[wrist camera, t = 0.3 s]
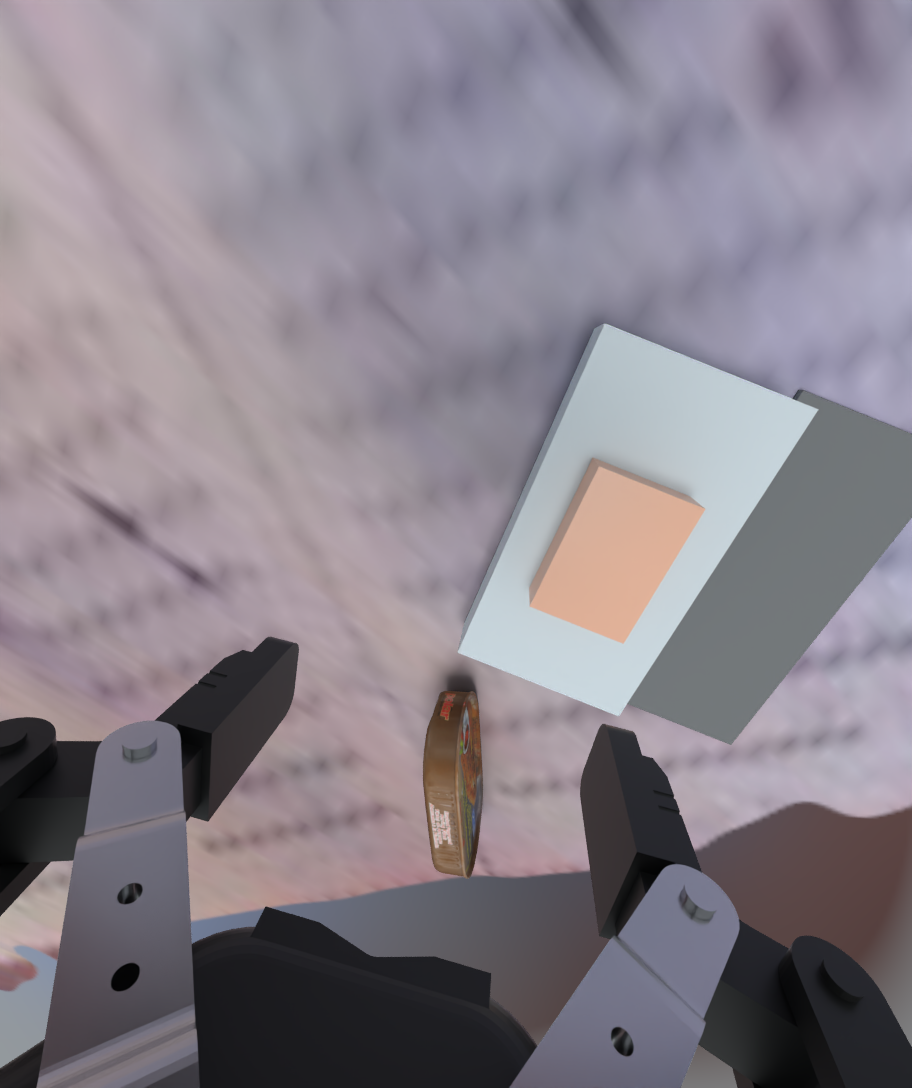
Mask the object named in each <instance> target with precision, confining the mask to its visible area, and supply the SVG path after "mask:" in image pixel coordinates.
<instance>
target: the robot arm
mask: <svg viewBox="0 0 912 1088" xmlns="http://www.w3.org/2000/svg"><path fill="white" fill-rule="evenodd" d="M298 653H299V647H298V644H297V643H293V642H289V641H285V640H281V639H278V638H274V637H267V638H266V639H265V640H264V641H263V642H262V643H261V644H260V645H259V646H258V647H257V648H256V649H255V650H254V651H253V652H249V651H245V650H242V651H240V652H238V653H235V654H233V655H231V656H229V657H226V658H224V659H223V660H222V661H221V662H219V663H218V664H217V665H216V666H215V667H214V668H213V669H212V670H210V673H209V674H208V673H207V674H206V675H205V676H204V677H203V678H202V679H200V680H199V682H198V684H195V685H194V686H193V687H192V688H190V689H189V690H188V691H187V692H186V693H185V694H184V695H183V696H181V697H180V698H179V699H178V700H177V701H176V702H175V703H174V704H173V705H171V706H170V707H169V708H168V709H167V710H166V711H165V712H164V713H163V714H161V715H160V716H159V717H158V718H157V719H156V720H155V721H142V722H137V723H133V724H129V725H126V726H124V727H122V728H119V729H118V730H116V731H114V732H113V733H111V734H110V735H108V736H107V737H106V738H105V739H104V740H103V741H56V731H55V728H54V726H53V725H52V724H51V723H50V722H48V721H46V720H44V719H40V718H33V717H24V718H15V719H9V720H5V721H1V722H0V916H1V915H2V914H3V913H4V912H5V911H6V910H7V908H8V907H9V906H10V905H11V904H12V903H13V902H14V901H15V900H16V899H17V898H18V897H19V895H20V894H21V893H22V892H23V891H24V890H25V889H26V888H27V887H28V886H29V885H30V884H31V883H32V881H33V880H34V879H35V878H36V877H37V876H38V875H39V874H40V873H41V872H42V871H43V870H44V868H45V867H46V866H47V865H48V864H49V863H50V862H51V861H71V860H74V861H73V867H72V874H71V880H70V886H69V892H68V898H67V905H66V911H65V917H64V923H63V929H62V936H61V942H60V948H59V954H58V960H57V967H56V973H55V979H54V985H53V992H52V998H51V1004H50V1010H49V1016H48V1022H47V1029H46V1035H45V1039H44V1040H43V1041H41V1042H40V1043H38V1044H37V1045H35V1046H34V1047H32V1048H31V1049H29V1050H28V1051H26V1052H25V1053H23V1054H22V1055H20V1056H19V1057H17V1058H15V1059H14V1060H12V1061H11V1062H9V1063H8V1064H6V1065H5V1066H3V1067H2V1068H0V1088H681V1086H682V1083H683V1080H684V1078H685V1076H686V1073H687V1071H688V1068H689V1066H690V1063H691V1061H692V1058H693V1056H694V1053H695V1051H696V1048H697V1046H698V1045H700V1046H701V1047H703V1048H704V1049H706V1050H707V1051H709V1052H710V1053H711V1054H713V1055H715V1056H716V1057H717V1058H719V1059H720V1060H722V1061H723V1062H725V1063H726V1064H728V1065H729V1066H731V1067H732V1068H733V1072H734V1075H735V1080H736V1083H737V1087H738V1088H912V1047H911V1045H910V1043H909V1042H908V1040H907V1038H906V1036H905V1034H904V1032H903V1030H902V1029H901V1027H900V1025H899V1023H898V1021H897V1019H896V1018H895V1016H894V1014H893V1012H892V1010H891V1008H890V1007H889V1005H888V1003H887V1001H886V999H885V997H884V996H883V994H882V993H881V991H880V990H879V988H878V986H877V985H876V984H875V982H874V981H873V980H872V978H871V977H870V976H869V975H868V974H867V973H866V971H865V970H864V969H863V968H862V967H861V966H860V965H859V964H858V963H857V962H855V961H854V960H853V959H852V958H851V957H850V956H848V955H847V954H846V953H845V952H843V951H842V950H840V949H839V948H837V947H836V946H834V945H832V944H831V943H829V942H827V941H825V940H822V939H820V938H817V937H813V936H800V937H798V938H797V939H795V941H794V942H793V943H792V945H791V946H790V948H789V949H788V948H787V947H785V946H783V945H781V944H780V943H778V942H776V941H774V940H772V939H771V938H769V937H767V936H766V935H764V934H762V933H760V932H759V931H757V930H755V929H753V928H752V927H750V926H748V925H747V924H745V923H743V922H742V921H741V920H739V919H738V915H737V913H736V910H735V908H734V906H733V904H732V902H731V901H730V899H729V898H728V896H727V895H726V894H725V893H724V891H723V890H722V889H721V888H720V887H719V886H718V885H717V884H716V883H715V882H714V881H712V880H711V879H710V878H709V877H707V876H706V875H705V874H703V873H702V871H701V868H700V865H699V863H698V860H697V857H696V854H695V852H694V849H693V846H692V843H691V841H690V838H689V835H688V833H687V830H686V827H685V824H684V822H683V819H682V816H681V815H679V812H680V811H679V808H678V805H677V802H676V800H675V799H674V794H673V792H672V789H671V786H670V783H669V781H668V778H667V776H666V775H665V773H664V772H663V771H662V770H661V768H660V767H659V766H658V764H657V763H656V762H655V761H654V759H653V758H650V757H646V756H642V754H641V750H640V747H639V744H638V741H637V738H636V735H635V733H634V732H633V731H629V730H625V729H621V728H618V727H614V726H610V725H606V724H602V725H601V726H600V728H599V730H598V733H597V735H596V738H595V741H594V743H593V746H592V749H591V752H590V754H589V757H588V760H587V762H586V765H585V768H584V771H583V774H582V779H581V787H580V797H581V805H582V813H583V820H584V827H585V835H586V842H587V850H588V857H589V864H590V872H591V879H592V887H593V894H594V901H595V908H596V916H597V923H598V931H599V936H602V937H605V938H608V939H611V940H610V941H609V942H608V944H607V945H606V947H605V948H604V950H603V951H602V953H601V954H600V956H599V957H598V959H597V960H596V962H595V963H594V964H593V966H592V967H591V969H590V970H589V972H588V973H587V975H586V976H585V978H584V979H583V980H582V982H581V983H580V985H579V986H578V988H577V989H576V991H575V992H574V994H573V995H572V997H571V998H570V999H569V1001H568V1003H567V1004H566V1005H565V1007H564V1008H563V1010H562V1011H561V1013H560V1014H559V1016H558V1017H557V1019H556V1020H555V1022H554V1023H553V1024H552V1026H551V1027H550V1029H549V1030H548V1032H547V1033H546V1035H545V1036H544V1038H543V1039H542V1040H541V1042H540V1044H539V1045H538V1046H537V1044H536V1043H535V1041H534V1040H533V1039H532V1037H531V1036H530V1035H529V1033H528V1032H527V1031H526V1030H525V1028H524V1027H523V1026H522V1025H521V1024H520V1023H519V1021H518V1020H517V1019H516V1018H515V1017H514V1016H513V1015H512V1014H511V1013H510V1012H509V1011H507V1010H506V1009H505V1008H504V1007H503V1006H502V1005H500V1004H499V1003H498V1002H496V1001H495V1000H493V999H492V998H490V983H491V973H488V972H484V971H481V970H478V969H474V968H471V967H467V966H464V965H461V964H457V963H454V962H451V961H447V960H444V959H440V958H437V957H373V956H370V955H368V954H366V953H365V952H363V951H362V950H360V949H359V948H357V947H356V946H354V945H353V944H351V943H350V942H348V941H347V940H345V939H344V938H342V937H341V936H339V935H338V934H336V933H335V932H333V931H332V930H330V929H329V928H327V927H325V926H324V925H323V924H321V923H319V922H316V921H313V920H309V919H306V918H303V917H299V916H296V915H293V914H289V913H286V912H282V911H279V910H276V909H272V908H269V907H265V909H264V911H263V913H262V915H261V917H260V919H259V921H258V923H257V925H256V927H244V928H237V929H231V930H227V931H223V932H220V933H216V934H213V935H211V936H208V937H206V938H203V939H201V940H199V941H197V942H195V943H193V944H192V942H191V919H190V898H189V876H188V854H187V833H186V822H187V820H188V819H189V818H190V816H191V817H194V818H197V819H201V820H204V821H209V820H210V818H211V817H212V816H213V814H214V813H215V811H216V810H217V809H218V807H219V806H220V805H221V803H222V802H223V800H224V799H225V798H226V796H227V795H228V794H229V792H230V791H231V790H232V788H233V787H234V785H235V784H236V783H237V781H238V780H239V779H240V777H241V776H242V775H243V773H244V772H245V770H246V769H247V768H248V766H249V765H250V764H251V762H252V761H253V760H254V758H255V757H256V755H257V754H258V753H259V751H260V750H261V749H262V747H263V746H264V744H265V743H266V742H267V740H268V739H269V738H270V736H271V735H272V734H273V732H274V731H275V729H276V728H277V727H278V725H279V724H280V723H281V721H282V720H283V719H284V717H285V716H286V714H287V712H288V710H289V708H290V705H291V703H292V699H293V695H294V689H295V680H296V671H297V662H298Z"/></svg>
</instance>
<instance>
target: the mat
mask: <svg viewBox="0 0 912 1088" xmlns="http://www.w3.org/2000/svg"><path fill="white" fill-rule="evenodd" d="M793 399H794V400H796V401H799V402H801V403H804V404H806V405H809V406H811V407H814V408H816V409H819V410H818V411H817V413H816V414H815V416H814V417H813V419H812V420H811V422H810V423H809V425H808V426H807V428H806V430H805V431H804V433H803V434H802V436H801V437H800V439H799V440H798V442H797V443H796V445H795V446H794V448H793V450H792V451H791V453H790V454H789V456H788V457H787V459H786V460H785V462H784V463H783V465H782V466H781V468H780V469H779V471H778V473H777V474H776V476H775V477H774V479H773V480H772V482H771V483H770V485H769V486H768V488H767V489H766V491H765V493H764V494H763V496H762V497H761V499H760V500H759V502H758V503H757V505H756V506H755V508H754V509H753V511H752V513H751V514H750V516H749V517H748V519H747V520H746V522H745V523H744V525H743V526H742V528H741V529H740V531H739V532H738V534H737V536H736V537H735V539H734V540H733V542H732V543H731V545H730V546H729V548H728V549H727V551H726V552H725V554H724V556H723V557H722V559H721V560H720V562H719V563H718V565H717V566H716V568H715V569H714V571H713V572H712V574H711V576H710V577H709V579H708V580H707V582H706V583H705V585H704V586H703V588H702V589H701V591H700V592H699V594H698V595H697V597H696V599H695V600H694V602H693V603H692V605H691V606H690V608H689V609H688V611H687V612H686V614H685V615H684V617H683V619H682V620H681V622H680V623H679V625H678V626H677V628H676V629H675V631H674V632H673V634H672V635H671V637H670V639H669V640H668V642H667V643H666V645H665V646H664V648H663V649H662V651H661V652H660V654H659V655H658V657H657V658H656V660H655V662H654V663H653V665H652V666H651V668H650V669H649V671H648V672H647V674H646V675H645V677H644V678H643V680H642V682H641V683H640V685H639V686H638V688H637V689H636V691H635V692H634V694H633V695H632V697H631V698H630V700H629V702H628V703H627V704H629V705H632V706H634V707H637V708H639V709H642V710H644V711H647V712H649V713H652V714H654V715H657V716H660V717H662V718H665V719H667V720H670V721H672V722H675V723H677V724H680V725H682V726H685V727H687V728H690V729H692V730H695V731H697V732H700V733H702V734H705V735H707V736H710V737H713V738H715V739H718V740H720V741H723V742H725V743H728V744H730V745H731V744H732V743H733V742H734V740H735V739H736V738H737V737H738V735H739V734H740V733H741V732H742V730H743V729H744V728H745V727H746V725H747V724H748V723H749V722H750V720H751V719H752V718H753V717H754V715H755V714H756V713H757V712H758V710H759V709H760V708H761V707H762V705H763V704H764V703H765V701H766V700H767V699H768V698H769V696H770V695H771V694H772V693H773V691H774V690H775V689H776V688H777V686H778V685H779V684H780V683H781V681H782V680H783V679H784V678H785V676H786V675H787V674H788V673H789V671H790V670H791V669H792V668H793V666H794V665H795V664H796V662H797V661H798V660H799V659H800V657H801V656H802V655H803V654H804V652H805V651H806V650H807V649H808V647H809V646H810V645H811V644H812V642H813V641H814V640H815V639H816V637H817V636H818V635H819V634H820V632H821V631H822V630H823V629H824V627H825V626H826V625H827V624H828V622H829V621H830V620H831V618H832V617H833V616H834V615H835V613H836V612H837V611H838V610H839V608H840V607H841V606H842V605H843V603H844V602H845V601H846V600H847V598H848V597H849V596H850V595H851V593H852V592H853V591H854V590H855V588H856V587H857V586H858V585H859V583H860V582H861V581H862V580H863V578H864V577H865V576H866V574H867V573H868V572H869V571H870V569H871V568H872V567H873V566H874V564H875V563H876V562H877V561H878V559H879V558H880V557H881V556H882V554H883V553H884V552H885V551H886V549H887V548H888V547H889V546H890V544H891V543H892V542H893V541H894V539H895V538H896V537H897V536H898V534H899V533H900V532H901V530H902V529H903V528H904V527H905V525H906V524H907V523H908V522H909V520H910V519H911V518H912V434H910V433H908V432H905V431H903V430H900V429H898V428H895V427H893V426H890V425H888V424H885V423H883V422H880V421H878V420H875V419H873V418H871V417H868V416H866V415H863V414H861V413H858V412H856V411H853V410H851V409H848V408H846V407H843V406H841V405H838V404H836V403H833V402H831V401H828V400H826V399H823V398H821V397H818V396H816V395H814V394H811V393H809V392H806V391H804V390H798V392H797V393H796V395H795V397H794V398H793Z"/></svg>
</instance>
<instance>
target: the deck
mask: <svg viewBox="0 0 912 1088" xmlns="http://www.w3.org/2000/svg"><path fill="white" fill-rule="evenodd" d="M818 410H819V409H816V408H814V407H811V406H809V405H806V404H804V403H801V402H799V401H796V400H794V399H791V398H789V397H786V396H784V395H781V394H779V393H776V392H774V391H772V390H769V389H767V388H764V387H762V386H759V385H757V384H754V383H752V382H749V381H747V380H744V379H742V378H739V377H737V376H734V375H732V374H729V373H727V372H724V371H722V370H719V369H717V368H714V367H712V366H710V365H707V364H705V363H702V362H700V361H697V360H695V359H692V358H690V357H687V356H685V355H682V354H680V353H677V352H675V351H672V350H670V349H667V348H665V347H662V346H660V345H657V344H655V343H653V342H650V341H648V340H645V339H643V338H640V337H638V336H635V335H633V334H630V333H628V332H625V331H623V330H620V329H618V328H615V327H613V326H610V325H608V324H605V323H604V324H602V325H600V326H598V327H596V328H594V330H593V333H592V335H591V337H590V339H589V342H588V344H587V346H586V348H585V351H584V353H583V355H582V358H581V360H580V362H579V364H578V367H577V369H576V371H575V373H574V376H573V378H572V380H571V382H570V385H569V387H568V389H567V392H566V394H565V396H564V398H563V401H562V403H561V405H560V407H559V410H558V412H557V414H556V416H555V419H554V421H553V423H552V426H551V428H550V430H549V432H548V435H547V437H546V439H545V441H544V444H543V446H542V448H541V450H540V453H539V455H538V457H537V460H536V462H535V464H534V466H533V469H532V471H531V473H530V475H529V478H528V480H527V482H526V484H525V487H524V489H523V491H522V494H521V496H520V498H519V500H518V503H517V505H516V507H515V509H514V512H513V514H512V516H511V518H510V521H509V523H508V525H507V528H506V530H505V532H504V534H503V537H502V539H501V541H500V543H499V546H498V548H497V550H496V552H495V555H494V557H493V559H492V562H491V564H490V566H489V568H488V571H487V573H486V575H485V577H484V580H483V582H482V584H481V586H480V589H479V591H478V593H477V596H476V598H475V600H474V602H473V605H472V607H471V609H470V611H469V614H468V616H467V618H466V620H465V623H464V627H463V631H462V635H461V640H460V644H459V648H458V653H460V654H462V655H465V656H468V657H470V658H473V659H475V660H478V661H480V662H483V663H485V664H488V665H490V666H493V667H495V668H498V669H500V670H503V671H505V672H508V673H510V674H513V675H516V676H518V677H521V678H523V679H526V680H528V681H531V682H533V683H536V684H538V685H541V686H543V687H546V688H548V689H551V690H553V691H556V692H558V693H561V694H564V695H566V696H569V697H571V698H574V699H576V700H579V701H581V702H584V703H586V704H589V705H591V706H594V707H596V708H599V709H601V710H604V711H606V712H609V713H612V714H614V715H617V716H619V715H620V714H621V712H622V711H623V709H624V708H625V706H626V705H627V703H628V702H629V700H630V698H631V697H632V695H633V694H634V692H635V691H636V689H637V688H638V686H639V685H640V683H641V682H642V680H643V678H644V677H645V675H646V674H647V672H648V671H649V669H650V668H651V666H652V665H653V663H654V662H655V660H656V658H657V657H658V655H659V654H660V652H661V651H662V649H663V648H664V646H665V645H666V643H667V642H668V640H669V639H670V637H671V635H672V634H673V632H674V631H675V629H676V628H677V626H678V625H679V623H680V622H681V620H682V619H683V617H684V615H685V614H686V612H687V611H688V609H689V608H690V606H691V605H692V603H693V602H694V600H695V599H696V597H697V595H698V594H699V592H700V591H701V589H702V588H703V586H704V585H705V583H706V582H707V580H708V579H709V577H710V576H711V574H712V572H713V571H714V569H715V568H716V566H717V565H718V563H719V562H720V560H721V559H722V557H723V556H724V554H725V552H726V551H727V549H728V548H729V546H730V545H731V543H732V542H733V540H734V539H735V537H736V536H737V534H738V532H739V531H740V529H741V528H742V526H743V525H744V523H745V522H746V520H747V519H748V517H749V516H750V514H751V513H752V511H753V509H754V508H755V506H756V505H757V503H758V502H759V500H760V499H761V497H762V496H763V494H764V493H765V491H766V489H767V488H768V486H769V485H770V483H771V482H772V480H773V479H774V477H775V476H776V474H777V473H778V471H779V469H780V468H781V466H782V465H783V463H784V462H785V460H786V459H787V457H788V456H789V454H790V453H791V451H792V450H793V448H794V446H795V445H796V443H797V442H798V440H799V439H800V437H801V436H802V434H803V433H804V431H805V430H806V428H807V426H808V425H809V423H810V422H811V420H812V419H813V417H814V416H815V414H816V413H817V411H818ZM592 458H595V459H598V460H600V461H603V462H605V463H608V464H610V465H613V466H615V467H618V468H620V469H623V470H625V471H628V472H630V473H633V474H635V475H638V476H640V477H643V478H645V479H648V480H650V481H653V482H655V483H658V484H660V485H663V486H665V487H668V488H670V489H673V490H675V491H678V492H680V493H683V494H685V495H688V496H690V497H691V498H693V499H694V500H695V501H696V502H698V503H699V504H700V505H701V506H702V507H704V508H705V511H704V513H703V514H702V516H701V517H700V519H699V521H698V522H697V524H696V526H695V527H694V529H693V531H692V532H691V534H690V536H689V537H688V539H687V540H686V542H685V544H684V545H683V547H682V549H681V550H680V552H679V554H678V555H677V557H676V559H675V560H674V562H673V563H672V565H671V567H670V568H669V570H668V572H667V573H666V575H665V577H664V578H663V580H662V582H661V583H660V585H659V586H658V588H657V590H656V591H655V593H654V595H653V596H652V598H651V600H650V601H649V603H648V605H647V606H646V608H645V609H644V611H643V613H642V614H641V616H640V618H639V619H638V621H637V623H636V624H635V626H634V628H633V629H632V631H631V632H630V634H629V636H628V637H627V639H626V641H625V642H624V644H623V643H620V642H618V641H615V640H613V639H610V638H608V637H605V636H602V635H600V634H597V633H595V632H592V631H590V630H587V629H585V628H582V627H580V626H577V625H575V624H572V623H570V622H567V621H565V620H562V619H560V618H557V617H555V616H552V615H550V614H547V613H545V612H542V611H540V610H537V609H535V608H532V607H530V603H529V587H530V585H531V583H532V581H533V579H534V577H535V575H536V573H537V571H538V569H539V567H540V565H541V563H542V561H543V559H544V557H545V555H546V553H547V551H548V548H549V546H550V544H551V542H552V540H553V538H554V536H555V534H556V532H557V530H558V528H559V526H560V524H561V522H562V520H563V518H564V516H565V514H566V512H567V510H568V507H569V505H570V503H571V501H572V499H573V497H574V495H575V493H576V491H577V489H578V487H579V485H580V483H581V481H582V479H583V477H584V475H585V473H586V471H587V468H588V466H589V464H590V462H591V460H592Z"/></svg>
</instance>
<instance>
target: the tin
mask: <svg viewBox="0 0 912 1088" xmlns="http://www.w3.org/2000/svg"><path fill="white" fill-rule="evenodd" d="M482 782H483V778H482V760H481V742H480V724H479V709H478V701H477V697H476V694H475V693H474V692H473V691H470V692H458V691H444V692H442V693H440V695H439V699H438V701H437V704H436V707H435V710H434V713H433V716H432V718H431V720H430V723H429V726H428V729H427V734H426V741H425V749H424V760H423V785H424V795H425V805H426V813H427V822H428V831H429V838H430V846H431V854H432V860H433V864H434V867H435V869H436V870H437V871H439V872H442V873H446V874H452V875H458V876H464V877H465V878H467V879H468V878H470V877H471V874H472V871H473V868H474V864H475V859H476V854H477V848H478V841H479V833H480V822H481V813H482V799H483V783H482Z"/></svg>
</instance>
